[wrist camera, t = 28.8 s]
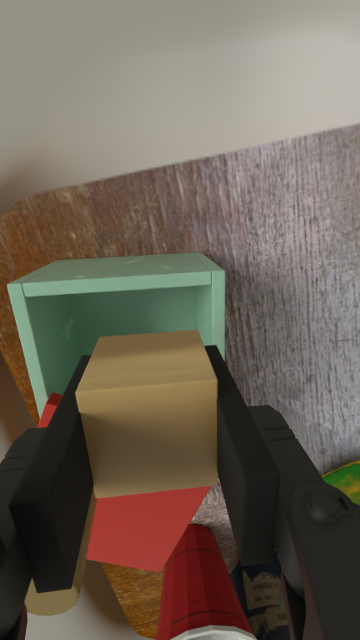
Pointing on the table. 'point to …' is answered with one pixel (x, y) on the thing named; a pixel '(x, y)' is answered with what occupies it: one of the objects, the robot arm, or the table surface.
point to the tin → (111, 308)
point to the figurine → (346, 480)
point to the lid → (122, 532)
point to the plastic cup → (199, 593)
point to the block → (150, 413)
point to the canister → (262, 599)
